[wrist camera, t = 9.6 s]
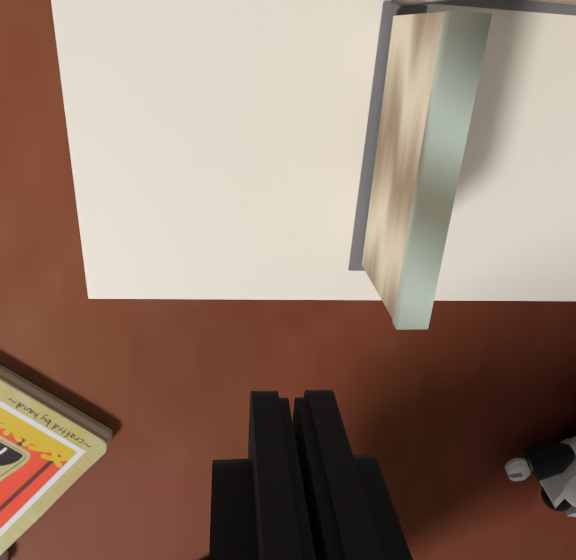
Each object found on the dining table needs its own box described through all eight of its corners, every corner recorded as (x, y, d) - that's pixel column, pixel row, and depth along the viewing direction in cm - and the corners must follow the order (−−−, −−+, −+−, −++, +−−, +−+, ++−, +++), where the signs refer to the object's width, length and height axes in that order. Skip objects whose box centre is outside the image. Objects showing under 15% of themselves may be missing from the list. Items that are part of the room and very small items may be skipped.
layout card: (596, 298, 31) (601, 302, 31) (90, 294, 27) (87, 299, 27) (748, -100, 22) (758, -103, 22) (31, -187, 18) (26, -192, 18)
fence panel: (391, 15, 22) (451, 10, 16) (421, 17, 22) (492, 13, 16) (359, 264, 27) (396, 329, 21) (384, 264, 27) (427, 329, 22)
